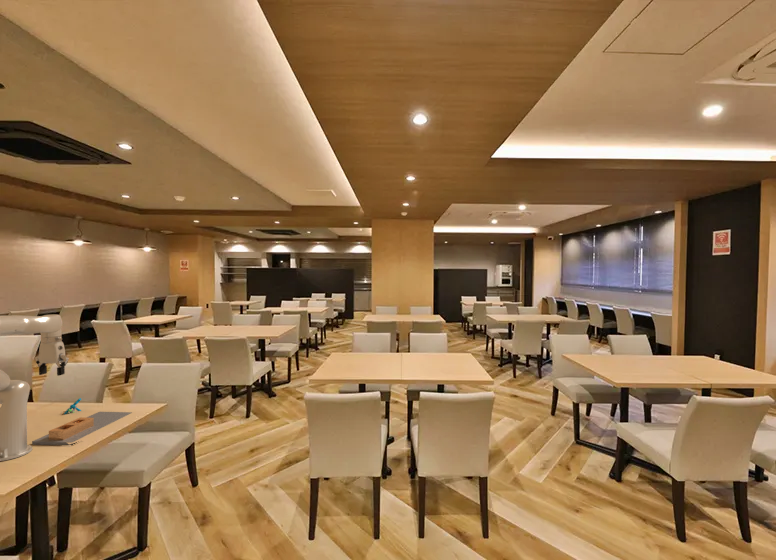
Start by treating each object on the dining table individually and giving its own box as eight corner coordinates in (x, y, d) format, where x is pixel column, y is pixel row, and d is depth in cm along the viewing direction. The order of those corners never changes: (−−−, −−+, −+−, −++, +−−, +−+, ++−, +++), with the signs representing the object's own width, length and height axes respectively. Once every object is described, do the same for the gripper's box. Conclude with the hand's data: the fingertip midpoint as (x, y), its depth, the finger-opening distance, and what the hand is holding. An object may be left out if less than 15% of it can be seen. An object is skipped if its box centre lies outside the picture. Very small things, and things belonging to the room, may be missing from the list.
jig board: (72, 445, 164) (72, 437, 164) (32, 444, 165) (32, 436, 165) (132, 415, 200) (132, 408, 199) (99, 414, 201) (99, 407, 201)
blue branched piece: (66, 407, 206) (81, 394, 208) (76, 413, 208) (91, 400, 210) (58, 417, 196) (74, 403, 198) (68, 423, 198) (84, 409, 200)
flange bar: (63, 440, 166) (63, 431, 166) (48, 439, 166) (48, 431, 166) (93, 425, 182) (93, 417, 182) (80, 425, 182) (80, 417, 182)
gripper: (74, 338, 182) (75, 373, 182) (43, 338, 183) (44, 371, 184) (59, 341, 174) (60, 377, 175) (27, 340, 176) (27, 376, 176)
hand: (51, 374), depth 179 cm, fingers open, 9 cm apart
